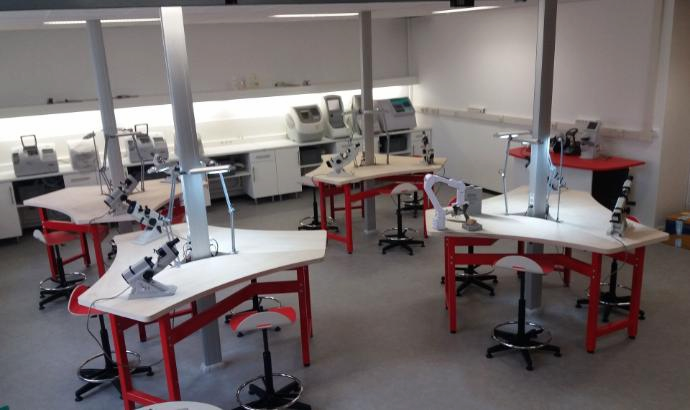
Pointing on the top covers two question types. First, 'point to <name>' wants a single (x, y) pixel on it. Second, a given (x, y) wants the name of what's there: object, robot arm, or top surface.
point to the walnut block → (471, 222)
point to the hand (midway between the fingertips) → (460, 214)
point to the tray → (471, 227)
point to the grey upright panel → (473, 199)
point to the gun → (459, 212)
